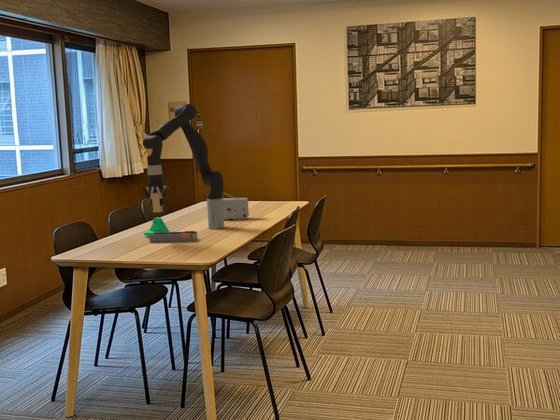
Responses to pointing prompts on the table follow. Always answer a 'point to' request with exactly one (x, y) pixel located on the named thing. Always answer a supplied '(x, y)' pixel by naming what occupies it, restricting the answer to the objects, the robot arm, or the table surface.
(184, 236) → the rail
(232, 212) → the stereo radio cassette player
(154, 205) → the tan upright block
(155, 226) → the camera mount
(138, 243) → the table surface
